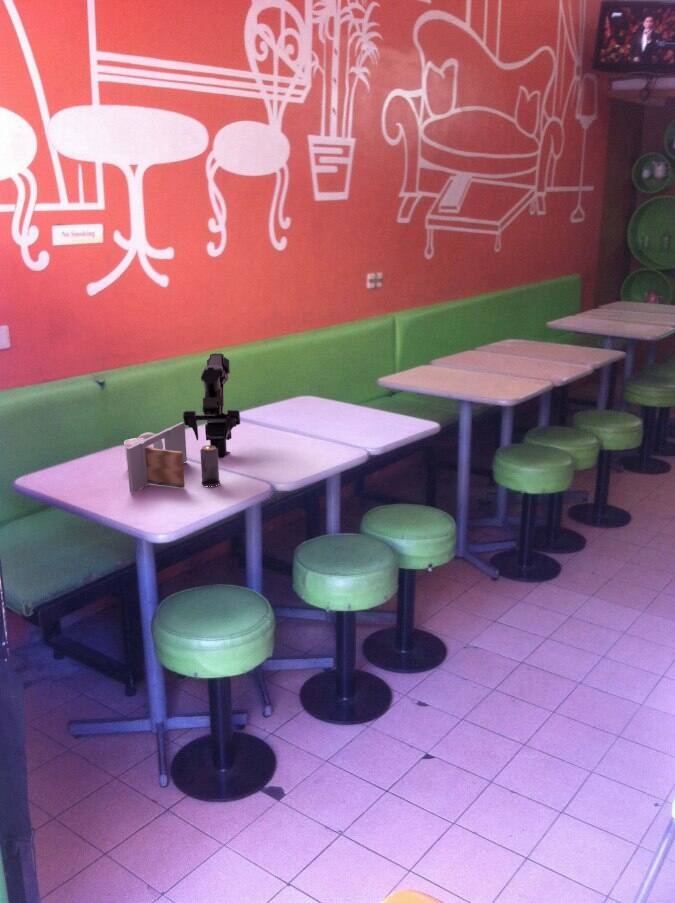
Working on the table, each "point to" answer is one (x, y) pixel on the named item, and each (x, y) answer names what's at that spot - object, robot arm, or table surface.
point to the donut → (156, 445)
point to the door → (165, 467)
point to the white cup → (130, 442)
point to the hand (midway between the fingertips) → (211, 439)
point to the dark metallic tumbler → (209, 466)
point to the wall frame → (138, 454)
